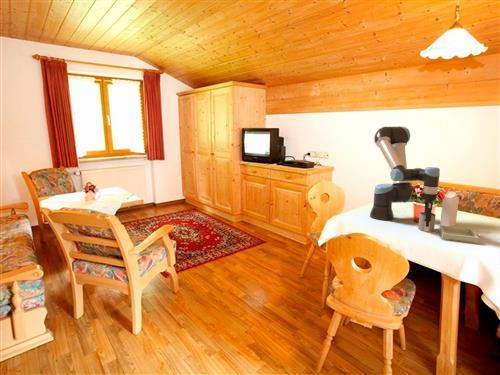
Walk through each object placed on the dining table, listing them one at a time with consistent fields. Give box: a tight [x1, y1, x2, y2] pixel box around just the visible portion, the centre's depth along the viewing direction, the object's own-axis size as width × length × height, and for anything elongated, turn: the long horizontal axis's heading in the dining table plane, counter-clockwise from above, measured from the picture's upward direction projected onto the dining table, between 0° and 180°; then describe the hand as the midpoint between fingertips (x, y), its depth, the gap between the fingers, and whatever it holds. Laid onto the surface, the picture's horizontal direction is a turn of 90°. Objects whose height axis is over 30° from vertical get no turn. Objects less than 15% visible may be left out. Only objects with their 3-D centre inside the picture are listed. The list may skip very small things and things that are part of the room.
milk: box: [439, 190, 460, 227], centre depth 186 cm, size 6×6×22 cm
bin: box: [438, 224, 479, 245], centre depth 167 cm, size 16×16×4 cm
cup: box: [417, 211, 437, 233], centre depth 179 cm, size 8×8×10 cm
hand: (426, 229), depth 180 cm, fingers closed on cup, 8 cm apart
